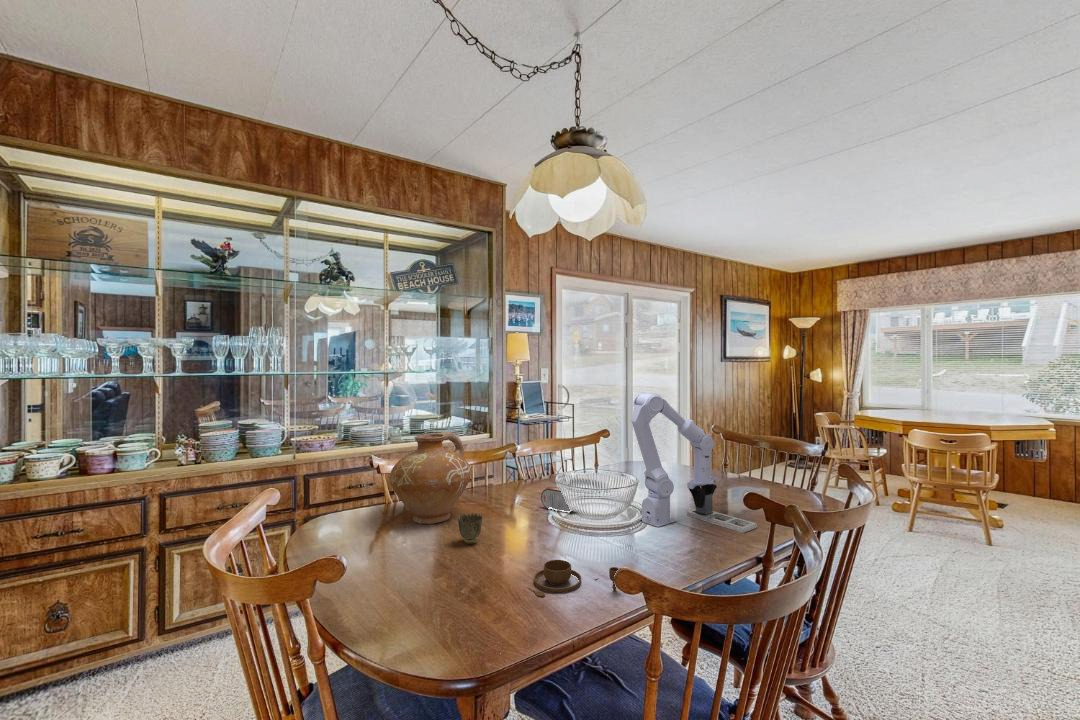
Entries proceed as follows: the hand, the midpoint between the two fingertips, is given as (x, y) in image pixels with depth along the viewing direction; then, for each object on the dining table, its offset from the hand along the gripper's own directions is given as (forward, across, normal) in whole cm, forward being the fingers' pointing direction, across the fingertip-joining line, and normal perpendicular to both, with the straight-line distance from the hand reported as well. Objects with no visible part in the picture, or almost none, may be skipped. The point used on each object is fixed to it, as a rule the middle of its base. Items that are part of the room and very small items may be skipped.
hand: (702, 505), depth 172 cm
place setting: (+4, -71, -13) cm, 73 cm away
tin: (+4, -36, +36) cm, 51 cm away
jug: (+4, -77, +57) cm, 96 cm away
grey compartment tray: (+4, 0, -7) cm, 8 cm away
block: (+3, 0, 0) cm, 4 cm away
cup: (+4, -77, +28) cm, 82 cm away
